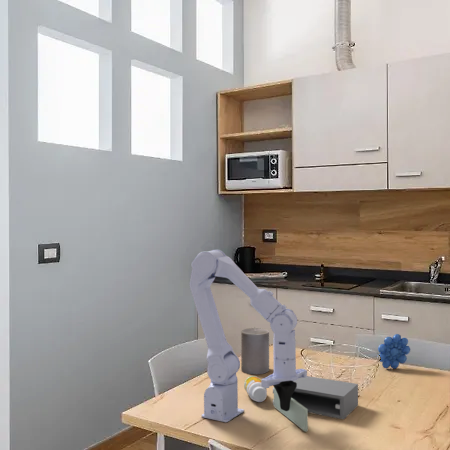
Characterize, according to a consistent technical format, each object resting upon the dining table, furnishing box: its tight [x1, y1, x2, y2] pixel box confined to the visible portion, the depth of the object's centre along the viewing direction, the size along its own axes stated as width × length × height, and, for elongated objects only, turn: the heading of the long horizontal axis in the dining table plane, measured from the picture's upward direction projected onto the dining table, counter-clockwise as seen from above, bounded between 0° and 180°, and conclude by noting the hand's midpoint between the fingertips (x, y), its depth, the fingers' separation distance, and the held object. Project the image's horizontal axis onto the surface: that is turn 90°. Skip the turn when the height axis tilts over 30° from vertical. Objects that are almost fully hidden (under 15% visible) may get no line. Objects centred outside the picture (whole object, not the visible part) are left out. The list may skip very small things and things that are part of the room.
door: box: [272, 387, 309, 432], centre depth 140 cm, size 19×1×5 cm, turn 19°
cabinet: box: [291, 375, 359, 420], centre depth 150 cm, size 12×20×6 cm, turn 58°
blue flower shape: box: [377, 333, 411, 369], centre depth 186 cm, size 12×7×12 cm, turn 94°
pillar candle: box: [240, 327, 270, 375], centre depth 184 cm, size 10×10×15 cm
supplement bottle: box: [243, 375, 268, 403], centre depth 156 cm, size 5×5×10 cm
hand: (285, 409), depth 138 cm, fingers closed
